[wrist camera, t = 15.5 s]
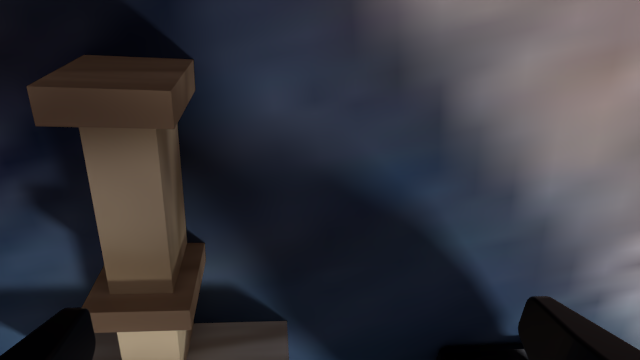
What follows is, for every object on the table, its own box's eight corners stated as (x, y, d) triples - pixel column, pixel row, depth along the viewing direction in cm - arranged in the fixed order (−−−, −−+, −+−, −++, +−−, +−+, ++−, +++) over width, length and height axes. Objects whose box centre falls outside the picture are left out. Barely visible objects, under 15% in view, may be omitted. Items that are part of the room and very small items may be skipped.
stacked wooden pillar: (-33, 50, 16) (-130, 81, 12) (297, 63, 18) (305, 95, 14) (50, 347, 23) (5, 431, 19) (286, 340, 24) (289, 416, 20)
